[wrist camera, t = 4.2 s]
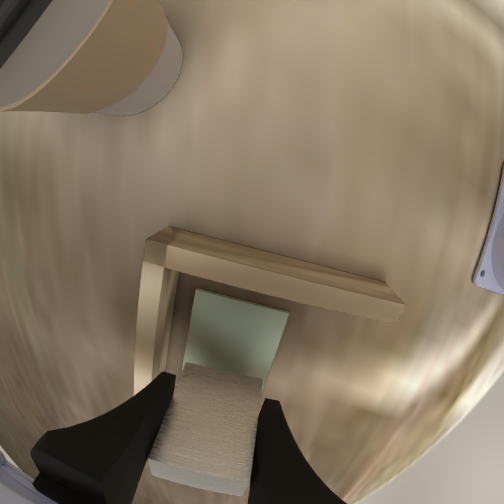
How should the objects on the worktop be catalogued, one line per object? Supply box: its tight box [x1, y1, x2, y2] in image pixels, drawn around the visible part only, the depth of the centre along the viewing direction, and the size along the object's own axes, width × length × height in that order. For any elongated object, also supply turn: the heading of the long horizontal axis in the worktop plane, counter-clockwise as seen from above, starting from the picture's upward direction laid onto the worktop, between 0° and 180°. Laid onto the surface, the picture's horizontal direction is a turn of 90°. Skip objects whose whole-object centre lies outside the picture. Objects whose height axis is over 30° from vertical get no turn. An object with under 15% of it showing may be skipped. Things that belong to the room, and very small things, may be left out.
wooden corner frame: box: [134, 227, 406, 395], centre depth 18 cm, size 13×14×4 cm
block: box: [148, 362, 263, 496], centre depth 13 cm, size 7×4×6 cm, turn 169°
